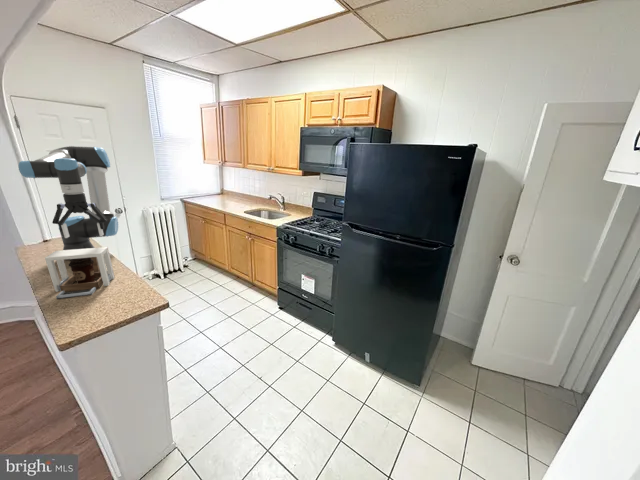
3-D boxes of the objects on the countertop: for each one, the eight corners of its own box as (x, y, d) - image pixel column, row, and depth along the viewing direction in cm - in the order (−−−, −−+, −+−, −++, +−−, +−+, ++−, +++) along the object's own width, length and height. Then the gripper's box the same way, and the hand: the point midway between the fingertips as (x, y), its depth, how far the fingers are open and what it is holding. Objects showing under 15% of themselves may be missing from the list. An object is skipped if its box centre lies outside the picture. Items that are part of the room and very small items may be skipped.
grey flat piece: (62, 293, 116) (61, 290, 115) (96, 289, 120) (95, 287, 120) (56, 299, 111) (56, 296, 111) (91, 295, 116) (91, 292, 115)
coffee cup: (84, 289, 120) (77, 263, 116) (69, 287, 121) (62, 261, 117) (102, 281, 128) (96, 256, 124) (89, 279, 129) (82, 254, 125)
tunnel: (65, 282, 125) (55, 250, 120) (114, 277, 132) (107, 246, 127) (55, 291, 117) (44, 257, 112) (108, 285, 124) (100, 253, 119)
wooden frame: (81, 273, 134) (76, 255, 131) (113, 270, 139) (109, 252, 136) (61, 292, 116) (55, 271, 113) (99, 287, 121) (94, 268, 118)
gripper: (33, 194, 113) (47, 240, 120) (103, 194, 122) (113, 236, 129) (43, 192, 120) (56, 235, 127) (109, 191, 128) (118, 232, 135)
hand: (84, 236), depth 128 cm, fingers open, 13 cm apart
